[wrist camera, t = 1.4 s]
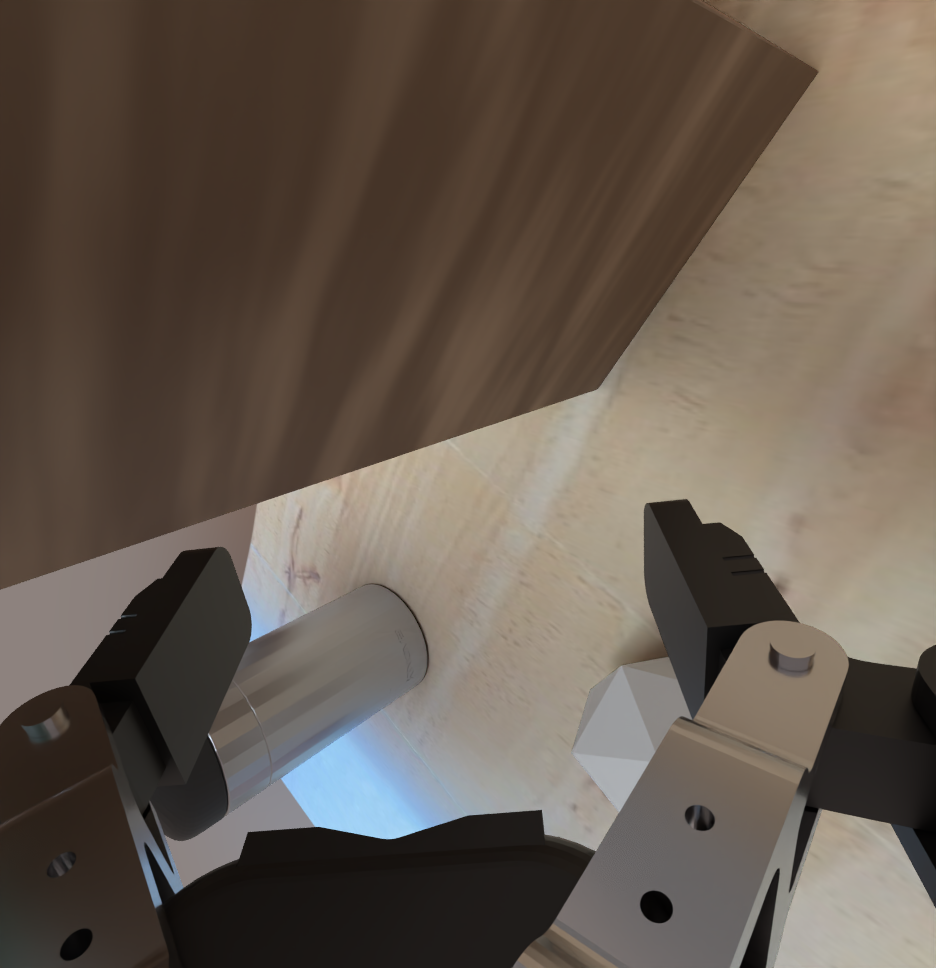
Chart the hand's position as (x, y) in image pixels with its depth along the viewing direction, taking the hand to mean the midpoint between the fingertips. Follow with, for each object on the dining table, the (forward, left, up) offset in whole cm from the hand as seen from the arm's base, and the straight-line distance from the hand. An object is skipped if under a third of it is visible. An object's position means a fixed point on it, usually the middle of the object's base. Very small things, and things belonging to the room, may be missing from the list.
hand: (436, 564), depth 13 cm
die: (-7, -18, -23) cm, 30 cm away
